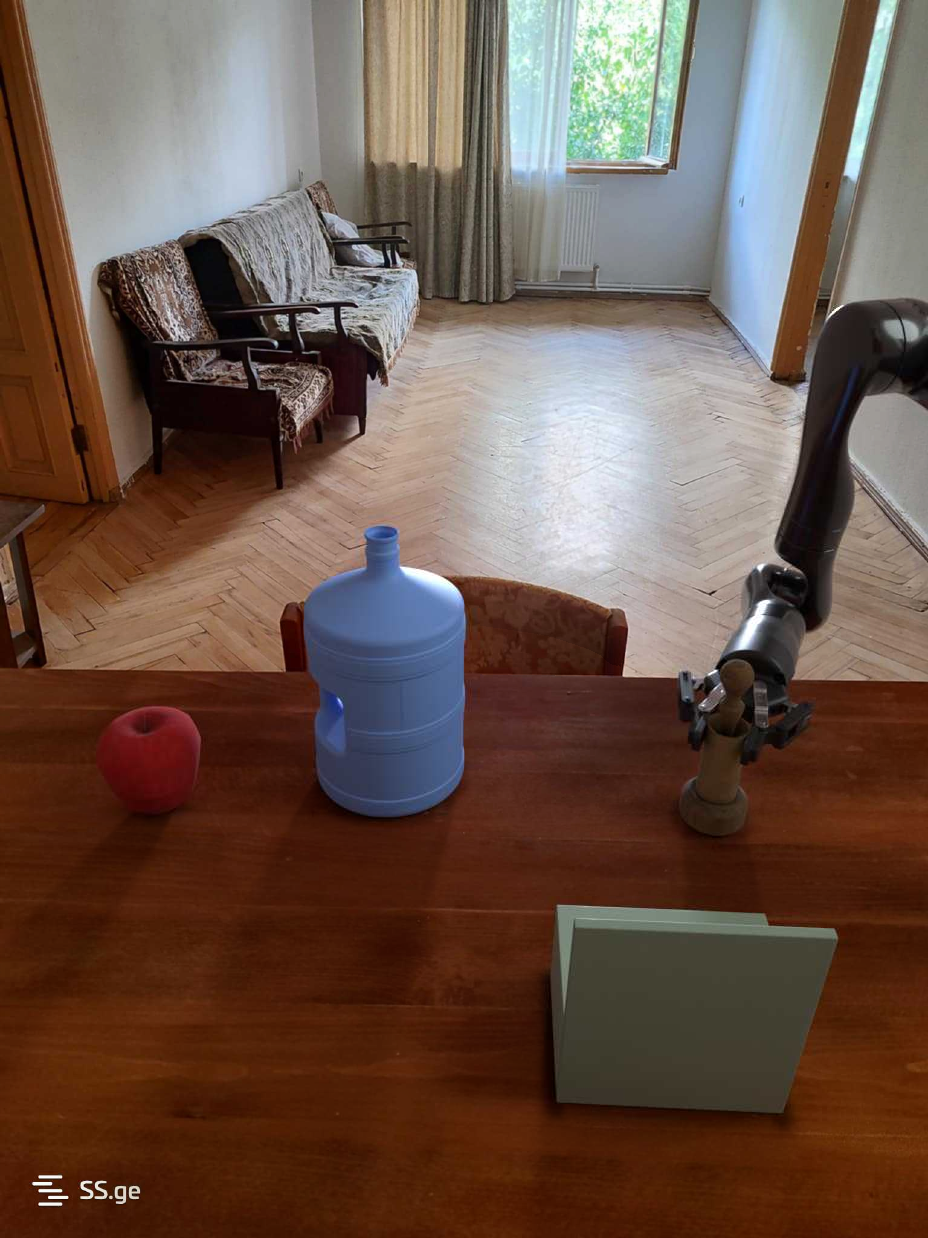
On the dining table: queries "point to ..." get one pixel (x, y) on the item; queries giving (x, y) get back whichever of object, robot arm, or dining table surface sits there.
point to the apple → (150, 758)
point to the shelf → (682, 1006)
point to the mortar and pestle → (721, 761)
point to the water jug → (387, 683)
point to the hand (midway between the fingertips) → (720, 750)
